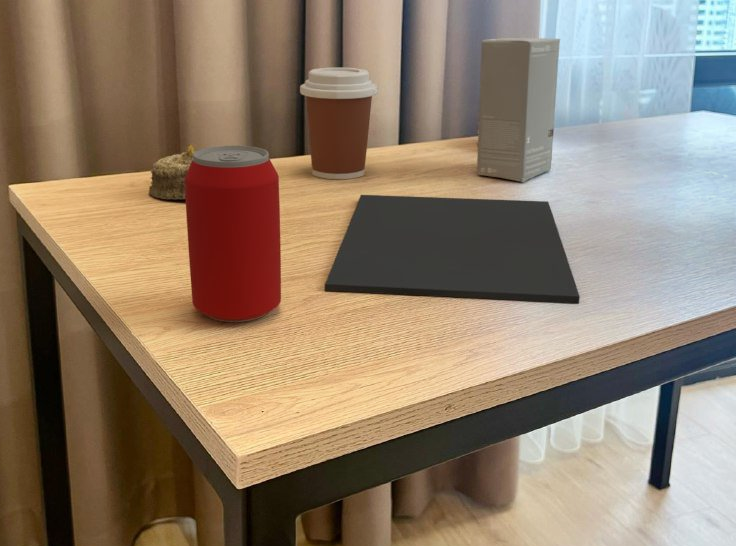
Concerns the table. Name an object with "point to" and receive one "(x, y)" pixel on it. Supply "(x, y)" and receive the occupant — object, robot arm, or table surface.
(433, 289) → the mat
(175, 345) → the table surface
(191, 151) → the cake
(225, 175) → the beverage can
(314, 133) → the coffee cup
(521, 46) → the cosmetic box
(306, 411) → the table surface
